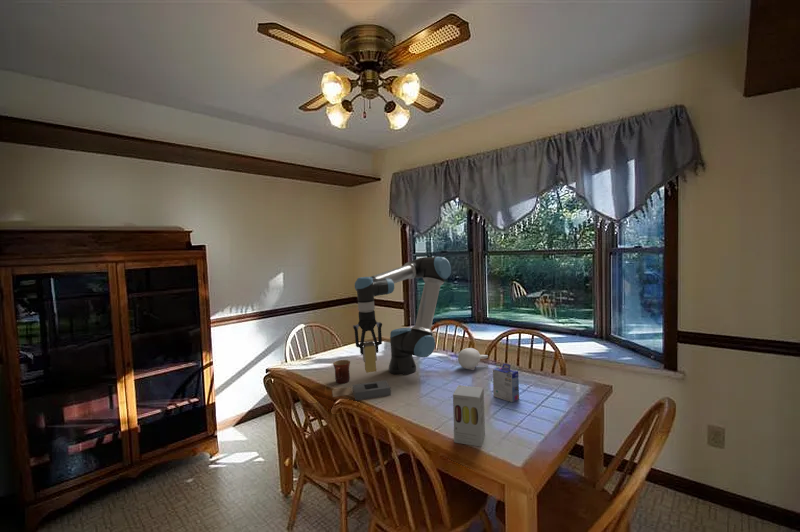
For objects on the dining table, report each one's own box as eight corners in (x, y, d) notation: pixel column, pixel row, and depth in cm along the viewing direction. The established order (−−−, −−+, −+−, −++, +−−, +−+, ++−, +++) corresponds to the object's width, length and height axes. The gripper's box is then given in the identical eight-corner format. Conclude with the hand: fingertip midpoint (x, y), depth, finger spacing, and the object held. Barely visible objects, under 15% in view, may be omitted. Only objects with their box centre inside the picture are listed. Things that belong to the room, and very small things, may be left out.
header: (386, 388, 174) (385, 380, 174) (390, 396, 165) (390, 387, 164) (353, 393, 170) (352, 384, 170) (355, 401, 161) (355, 392, 160)
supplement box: (453, 442, 123) (451, 394, 122) (459, 429, 131) (457, 384, 131) (482, 447, 119) (480, 397, 119) (485, 433, 128) (484, 386, 127)
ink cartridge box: (520, 399, 155) (518, 365, 154) (513, 403, 151) (511, 369, 151) (500, 393, 162) (498, 361, 162) (492, 396, 159) (491, 364, 158)
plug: (374, 368, 170) (372, 341, 169) (376, 371, 166) (374, 343, 165) (365, 369, 169) (363, 342, 168) (366, 372, 164) (364, 344, 164)
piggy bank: (467, 376, 189) (484, 370, 199) (473, 356, 187) (490, 351, 197) (450, 364, 198) (467, 360, 208) (455, 345, 196) (472, 341, 206)
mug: (337, 378, 191) (336, 359, 190) (353, 379, 189) (352, 360, 188) (329, 387, 179) (327, 367, 178) (345, 388, 177) (344, 367, 177)
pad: (350, 388, 177) (350, 387, 176) (352, 395, 168) (352, 394, 168) (331, 391, 174) (331, 389, 174) (333, 398, 166) (333, 396, 166)
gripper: (383, 307, 171) (386, 355, 173) (346, 311, 167) (350, 360, 168) (386, 310, 164) (390, 360, 165) (348, 314, 160) (352, 365, 161)
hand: (370, 360), depth 167 cm, fingers closed on plug, 4 cm apart
